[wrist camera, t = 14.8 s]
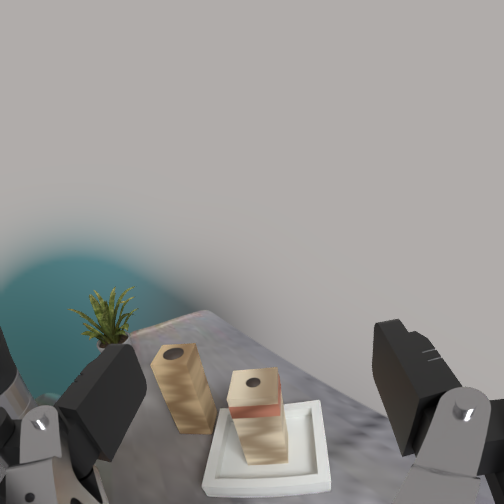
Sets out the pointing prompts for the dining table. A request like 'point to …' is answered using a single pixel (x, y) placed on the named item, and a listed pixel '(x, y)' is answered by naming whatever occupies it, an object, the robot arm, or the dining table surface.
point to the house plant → (107, 321)
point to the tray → (273, 475)
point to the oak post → (185, 388)
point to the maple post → (259, 415)
